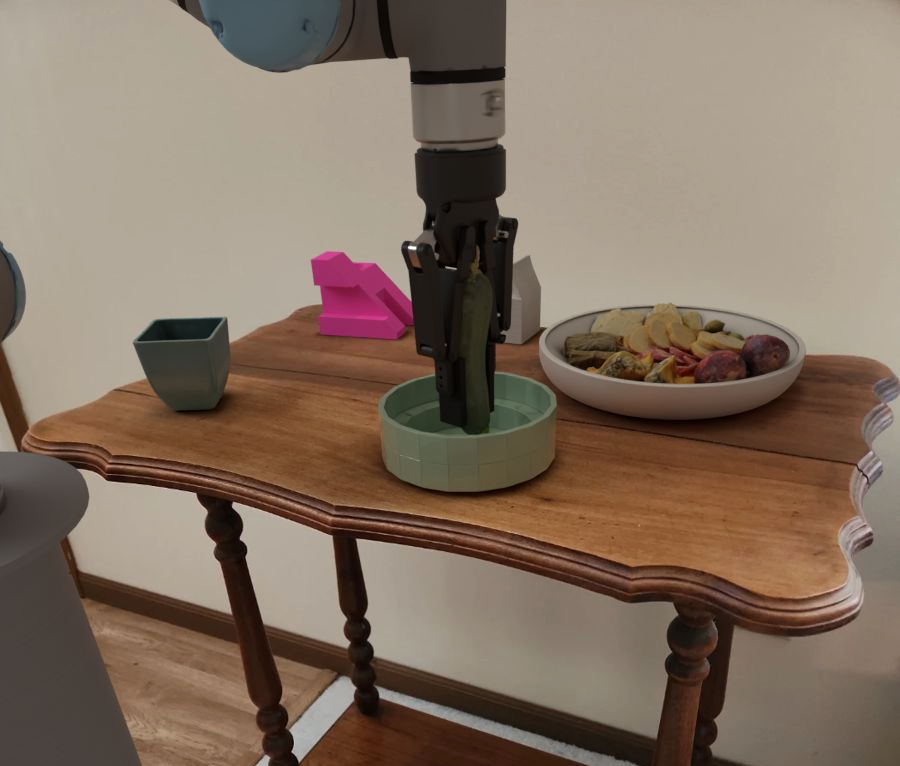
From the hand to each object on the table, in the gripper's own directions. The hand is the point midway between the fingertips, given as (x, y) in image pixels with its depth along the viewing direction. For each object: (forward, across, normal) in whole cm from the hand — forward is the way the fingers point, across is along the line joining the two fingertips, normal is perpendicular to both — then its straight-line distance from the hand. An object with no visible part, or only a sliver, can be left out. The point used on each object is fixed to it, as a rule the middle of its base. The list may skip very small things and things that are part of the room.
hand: (467, 415), depth 79 cm
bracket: (+5, +27, +40) cm, 48 cm away
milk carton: (+5, +35, +19) cm, 40 cm away
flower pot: (+5, -7, +36) cm, 37 cm away
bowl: (+5, +30, -6) cm, 31 cm away
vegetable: (+3, 0, 0) cm, 3 cm away
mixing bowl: (+5, 0, 0) cm, 5 cm away
